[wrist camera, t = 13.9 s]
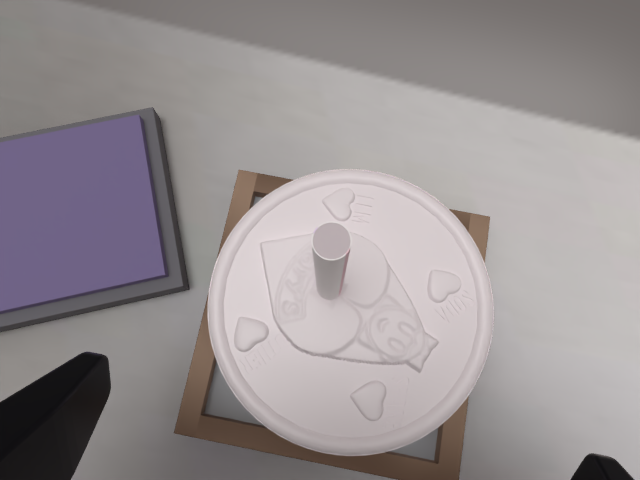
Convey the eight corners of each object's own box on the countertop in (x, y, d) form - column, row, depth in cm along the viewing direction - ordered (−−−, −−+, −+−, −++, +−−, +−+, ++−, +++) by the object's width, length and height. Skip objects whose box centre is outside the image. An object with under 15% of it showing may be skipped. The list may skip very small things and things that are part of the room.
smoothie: (318, 225, 22) (305, -17, 8) (449, 310, 21) (687, 201, 7) (227, 353, 20) (29, 327, 7) (362, 450, 19) (450, 647, 6)
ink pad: (189, 289, 21) (179, 284, 20) (-6, 333, 21) (-30, 330, 19) (159, 118, 23) (149, 101, 22) (-21, 154, 23) (-44, 140, 21)
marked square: (449, 484, 20) (457, 491, 19) (181, 429, 20) (173, 433, 19) (481, 224, 22) (489, 216, 21) (242, 178, 22) (239, 169, 21)
